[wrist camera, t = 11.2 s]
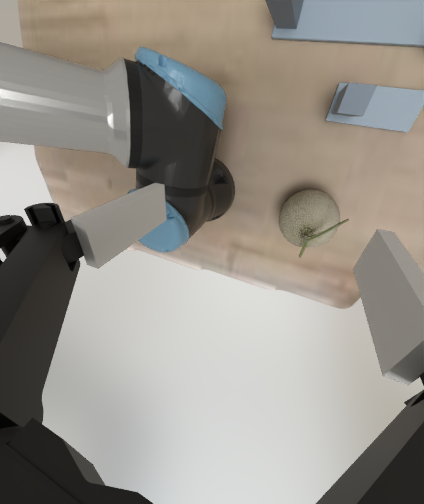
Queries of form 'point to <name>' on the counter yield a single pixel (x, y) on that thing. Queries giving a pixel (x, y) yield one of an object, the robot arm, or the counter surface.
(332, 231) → the fruit
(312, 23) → the strip
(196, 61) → the counter surface
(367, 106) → the lane
